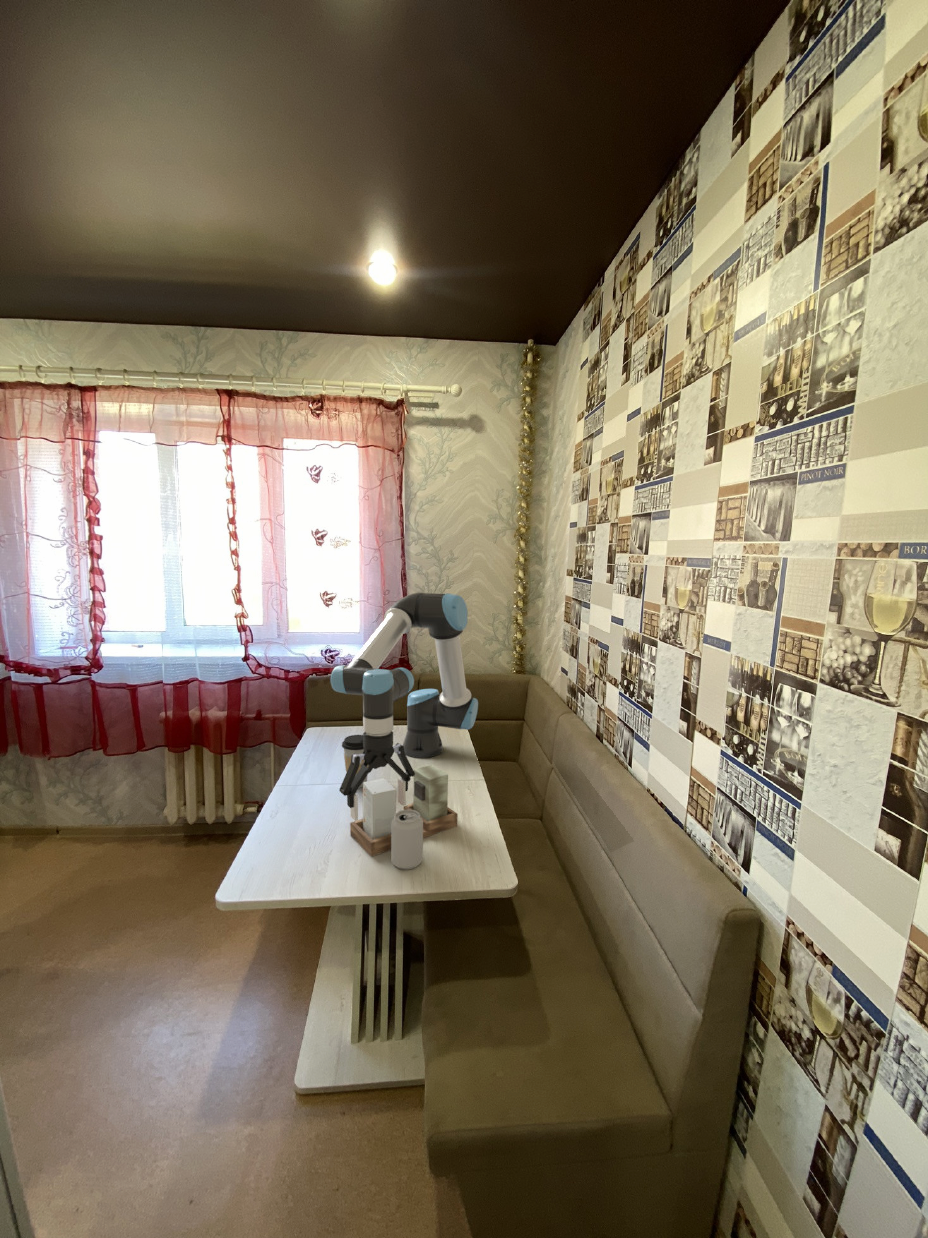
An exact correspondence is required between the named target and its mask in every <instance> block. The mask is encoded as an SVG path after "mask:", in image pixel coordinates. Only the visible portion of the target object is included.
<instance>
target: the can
mask: <svg viewBox="0 0 928 1238" xmlns="http://www.w3.org/2000/svg"><path fill="white" fill-rule="evenodd" d="M423 850H424V838H423V820H422V818H421V817H420V813H419V812H417V811H415V810H404V809H401V810H399V811H396V814H395V815H394V819H393V820H392V822H391V850H390V854H391V857H390V858H391V859H390V860H391V863H392V864H393V865H394V866H395V867H397V868H398V869H400V870H412V869H414V868H417V867H418V866H419V865H420V864H422V862H423V857H424V854H423V853H424V851H423Z"/></svg>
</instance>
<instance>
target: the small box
mask: <svg viewBox="0 0 928 1238" xmlns="http://www.w3.org/2000/svg"><path fill="white" fill-rule="evenodd" d="M396 800H397V791H396V788H394V786H393V785H392V784H391V783H390V781H388V780H387V778H379V779H374V780H373V779H372V780H367V782H363V786H362V819H363V830H364V831H365V833H366V834H367V835H368V836H369V837H370V838H371V839H372V840H375V839H378V838H381V837H384V836H387V835H390V834H391V822H392V820H393V819H394V815H395V814H396V813H397V811H396V808H397V807H396V806H397V804H396V803H397V801H396Z"/></svg>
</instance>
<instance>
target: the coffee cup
mask: <svg viewBox="0 0 928 1238" xmlns="http://www.w3.org/2000/svg"><path fill="white" fill-rule="evenodd" d="M341 748H343V756H344V767H345V772H346V773H347V770H348V768H349V766H350V763H351V756H352V754H353V753H355V754H356V755H359V754H363V751H364V747H363V734H351V735H348V736H345V738H344V739H343V741H342V742H341ZM364 761H365V760H364V759H363V760H362V761H361V763H360V764H359V768H358V771H357V773H358V772H359V770H360V769H361V765H362V764H363V762H364ZM368 766H369V765H367V767H368ZM357 773H356V775H357ZM356 775H355V776H356ZM367 781H368V775H367V776H366V778H365V779H364V781H363V782H367ZM363 782H362V784H361V785H360V787H359V788H363Z"/></svg>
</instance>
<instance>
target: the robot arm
mask: <svg viewBox="0 0 928 1238" xmlns="http://www.w3.org/2000/svg"><path fill="white" fill-rule="evenodd" d="M468 616H469V614H468V606H467V604H466V601H465V600H464V598H463V597H462V596H461V595H459V594H453V593H450V592H449V593H437V592H436V593H435V592H434V593H433V592H431V593H430V592H429V593H428V592H414V593H410V594H407V595H406V596H404V597H402V598H400V599H399V600H398V601H396V602H395V603H393V604H392V605H391V606H390V607H389V608H388V609H387V610H386V612H385V613H384V616H383V620H382V622H381V623H380V624H379V625H378V627H377V628H376V629H375V630H374V632H372V634H371V636H370V637H369V638H368V639H367V641H366V642H365V643H364V644H363V646H362V647H361V649H359V651H358V652H357V653H356V654H355V656H354V657H353V658H352V660H351V661H350V662H349V664H347V665H345V664H343V665H337V666H335V667H334V668H333V669H332V671H331V673H330V674H331V675H330V685H331V688H332V689H333V691H334V692H336V693H340V694H341V693H342V694H346V695H356V696H362V711H363V712H362V725H363V726H362V728H363V730H362V731H363V734H362V735H363V747H364V751H363V754H359V755H356V754H355V753H353V754H352V756H351V763H350V766H349V768H348V770H347V772H346V773H345V775H344V778H343V780H342V782H341V785H340V787H339V789H338V790H339V793H341V794H342V795H343V796H346V801H347V802H346V804H347V806H348V807H349V808H350V817H351V818H352V820H354V821H358V820H359V801H358V800H359V797H358V794H357V792H358V790H359V789H360V788H361V787H360V785H361V784H362V782H363V781H364V779H365V778H366V776H367V777H368V775H369V774H370V773H371V772H372V771H373V769H374V770H377V769H379V768H384V767H386V766H387V765H388V766H390V768H391V769H392V770H394V771H395V773H397V774H398V776H399V777H398V778H397V802H398V803H399V804H400V805H401V806H403V807H404V806H406V802H407V801H406V799H407V798H406V793H407V792H408V791H409V782H411V777H413V778H414V775H415V773H414V768H413V767H412V765H411V763H410V761H409V759H408V757H413V758H419V759H420V758H424V759H425V758H430V757H431V758H432V757H436V756H439V755H440V754H441V753H442V752H443V742H442V740H441V735H440V733H439V728H440V727H442V728H447V729H456V730H467V731H468V730H471V729H472V728H473V727H474V725H475V722H476V719H477V715H478V709H479V701H478V698H475V697H473V696H472V693H471V690H470V689H469V688H467V685H466V676H465V668H464V667H465V666H464V662H463V661H464V659H463V652H462V644H461V638H460V637H461V635H462V634H463V633H464V630H465V629H466V628H467V625H468V620H469V618H468ZM413 628H420V629H422V628H423V629H428V635H429V637H430V638H431V639H433V640H434V644H435V650H436V651H435V652H436V656H437V657H436V658H437V663H438V670H439V671H438V672H439V676H440V677H439V678H440V683H441V689H442V692H441V693H440V692H439V690H438V689H436V688H423V689H422V688H421V689H418V690H414V691H412V689H413V687H414V685H415V678H414V675H413V674H412V672H411V671H410V670H408V669H407V668H405V667H395V668H393V669H385V668H384V669H383V668H382V669H381V668H380V667H381V665H382V664H383V663H384V661H385V660H386V659H387V657H388V656H389V654H390V653H391V652H392V650H393V649H394V647H395V646H396V644H397V643H398V642H399V640H400V639H401V638H402V636H403V634H407V633H409V632H410V630H411V629H413ZM411 691H412V692H411ZM408 693H409V694H408ZM407 695H408V696H407ZM405 696H407V704H406V707H407V708H406V710H407V711H406V712H407V715H406V716H407V719H406V720H407V721H406V724H407V725H406V726H407V729H406V730H407V731H406V734H405V737H404V741H403V743H402V744H401V743H399V742H397V743H395V745H394V731H393V730H394V702H396V701H398V700H399V699H401V698H403V697H405ZM394 753H395V754H396V755H397V757H398V759H399V761H400V763H401V766H403V769H404V770H403V769H402V768H401V767H400V766H399V765H398V764H397V763H396V762H395V761H394V759H393V755H394ZM407 756H408V757H407ZM363 759H364V760H365V761H364V762H363V764H362V765H361V769H360V770H359V772H358V773H357V771H358V768H359V764H360V763H361V761H362V760H363ZM367 765H369V766H368V767H367ZM356 773H357V775H356ZM355 775H356V776H355Z"/></svg>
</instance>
